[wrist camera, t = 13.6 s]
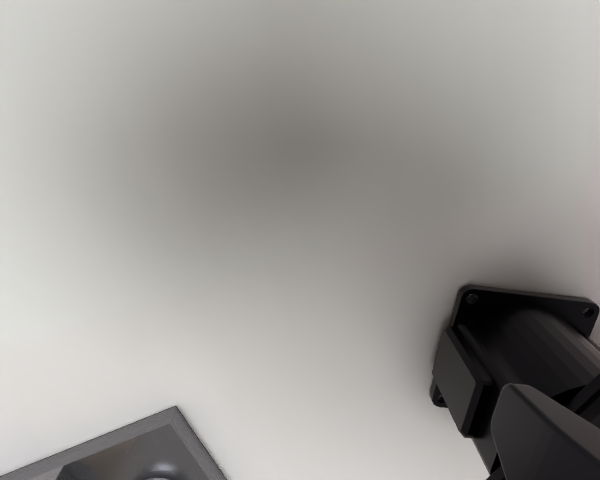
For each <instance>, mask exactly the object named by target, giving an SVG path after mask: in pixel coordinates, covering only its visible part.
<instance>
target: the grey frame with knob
mask: <svg viewBox="0 0 600 480" xmlns="http://www.w3.org/2000/svg"><path fill="white" fill-rule="evenodd" d="M0 480H226V478H225V477H224V475H223V474H222V473H221V471H220V470H219V468H218V467H217V465H216V464H215V462H214V461H213V460H212V458H211V457H210V455H209V454H208V452H207V451H206V449H205V448H204V446H203V445H202V444H201V442H200V441H199V439H198V438H197V436H196V435H195V433H194V432H193V431H192V429H191V428H190V426H189V425H188V423H187V422H186V420H185V419H184V417H183V416H182V415H181V413H180V412H179V410H178V409H177V407H176V406H175V407H172V408H170V409H167V410H165V411H162V412H160V413H157V414H155V415H152V416H150V417H147V418H145V419H142V420H140V421H137V422H135V423H132V424H130V425H127V426H125V427H122V428H120V429H118V430H115V431H113V432H110V433H108V434H105V435H103V436H100V437H98V438H95V439H93V440H90V441H88V442H85V443H83V444H80V445H78V446H75V447H73V448H70V449H68V450H65V451H63V452H60V453H58V454H56V455H53V456H51V457H48V458H46V459H43V460H41V461H38V462H36V463H33V464H31V465H28V466H26V467H23V468H21V469H18V470H16V471H13V472H11V473H8V474H6V475H3V476H1V477H0Z"/></svg>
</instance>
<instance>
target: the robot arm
mask: <svg viewBox="0 0 600 480" xmlns="http://www.w3.org/2000/svg"><path fill="white" fill-rule="evenodd" d="M470 294H474V297H473V298H472V299H470V300H466V298H467V297H468V296H469V295H470ZM586 308H589V309H588V310H587V311H586V312H585V313H583V311H584V310H585V309H586ZM598 315H599V306H597V305H596V304H595V303H594V302H593V301H591V300H589V299H585V298H576V297H568V296H560V295H551V294H543V293H534V292H526V291H517V290H509V289H500V288H492V287H483V286H475V285H467V286H465V287H463V288H462V289H461V290H460V291H459V293H458V296H457V299H456V303H455V306H454V310H453V313H452V317H451V320H450V324H449V326H448V327H446V328H445V329H444V331H443V334H442V338H441V341H440V345H439V348H438V352H437V355H436V359H435V363H434V366H433V370H432V375H433V377H434V380H433V384H432V387H431V391H430V397H431V399H432V402H433V404H434V405H436V406H438V407H445V408H448V409H449V411H450V413H451V415H452V417H453V419H454V422H455V424H456V426H457V428H458V430H459V432H460V433H461V434H462V435H463V437H464V438H472V440H473V442H474V444H475V446H476V448H477V450H478V452H479V454H480V456H481V458H482V460H483V462H484V464H485V466H486V468H487V470H488V472H489V474H490V476H489V477H488V478H487V479H486V480H600V347H599V346H598V345H597V344H596V343H595V342H594V341H592V340H591V339H590V338H589V337H590V334H591V332H592V329H593V327H594V324H595V322H596V320H597V317H598ZM440 395H442V396H443V397H440V398H438V396H440Z"/></svg>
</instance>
